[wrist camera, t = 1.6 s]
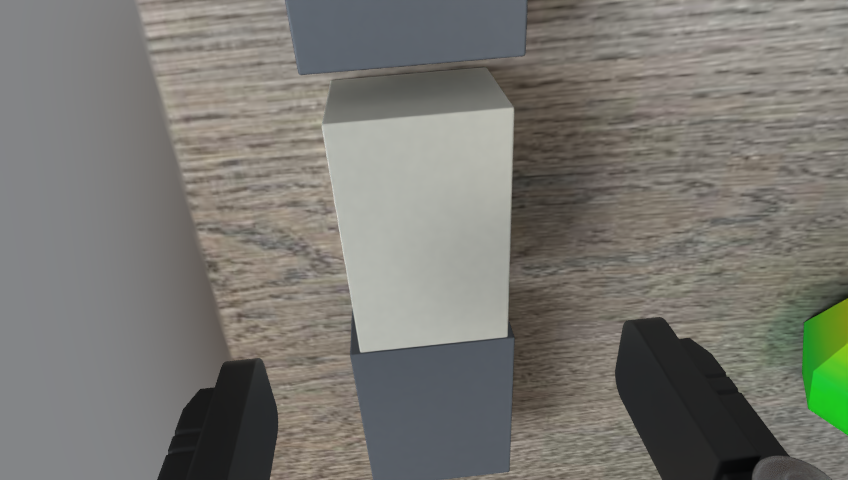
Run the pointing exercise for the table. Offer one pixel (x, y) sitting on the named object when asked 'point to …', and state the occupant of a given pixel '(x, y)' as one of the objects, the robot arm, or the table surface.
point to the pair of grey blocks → (373, 371)
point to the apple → (827, 365)
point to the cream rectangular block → (423, 204)
